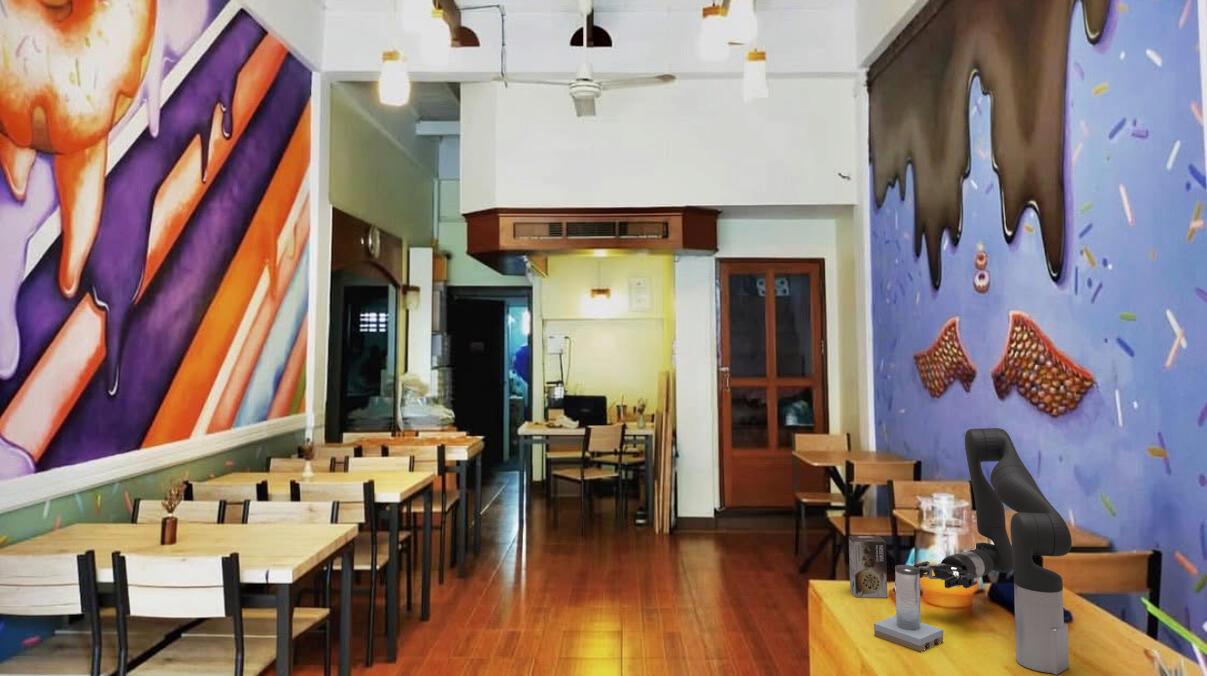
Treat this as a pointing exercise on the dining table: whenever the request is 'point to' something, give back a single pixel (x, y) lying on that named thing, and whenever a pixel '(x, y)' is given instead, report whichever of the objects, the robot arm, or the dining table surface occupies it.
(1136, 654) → the dining table surface
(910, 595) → the canister
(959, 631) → the dining table surface
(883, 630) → the block
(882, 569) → the coffee box
